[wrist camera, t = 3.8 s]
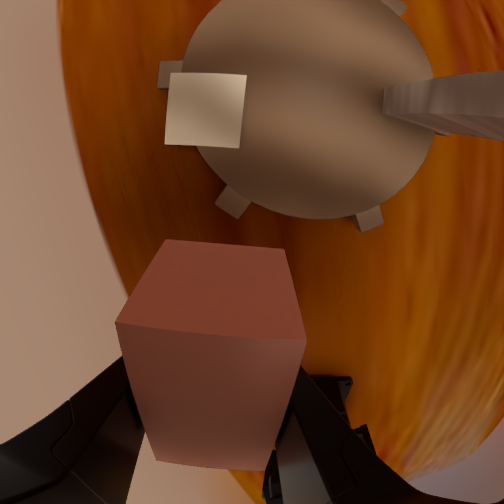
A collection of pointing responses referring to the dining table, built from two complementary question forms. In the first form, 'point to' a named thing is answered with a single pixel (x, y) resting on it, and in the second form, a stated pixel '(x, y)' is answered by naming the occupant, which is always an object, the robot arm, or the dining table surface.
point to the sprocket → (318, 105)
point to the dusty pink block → (213, 352)
